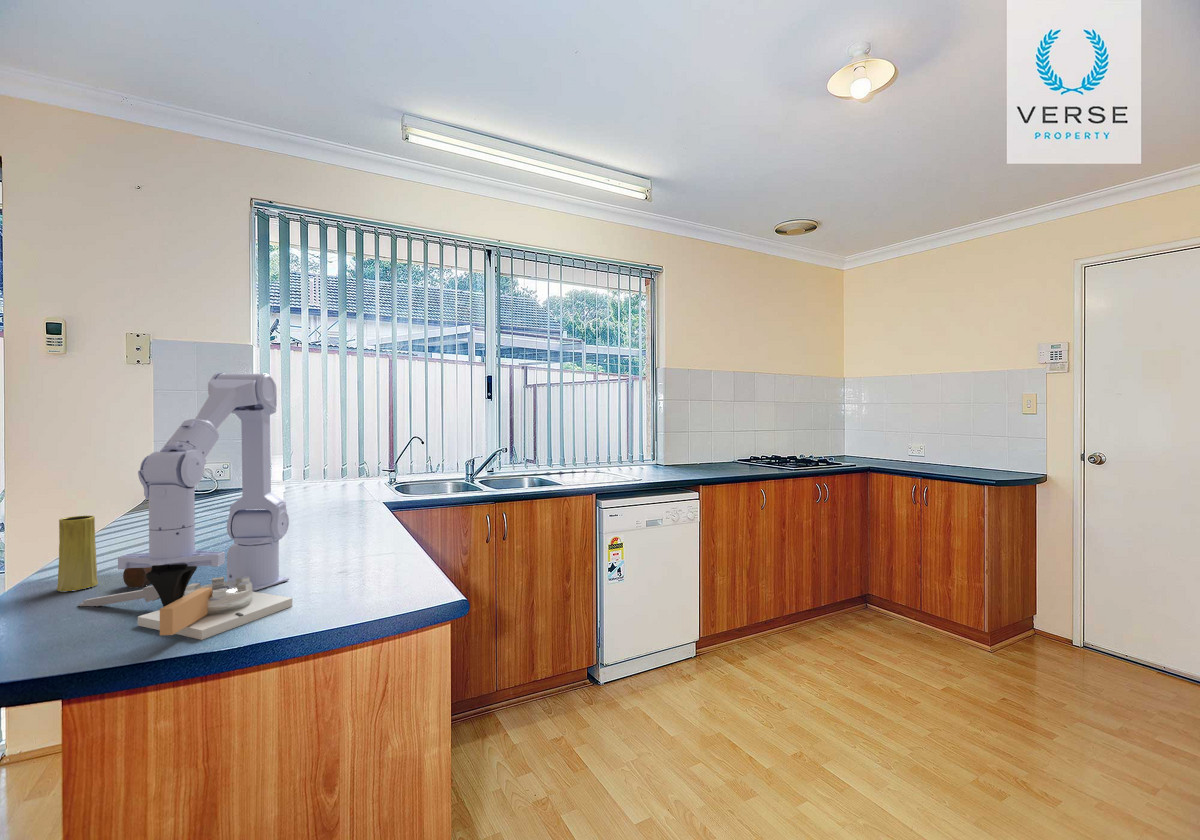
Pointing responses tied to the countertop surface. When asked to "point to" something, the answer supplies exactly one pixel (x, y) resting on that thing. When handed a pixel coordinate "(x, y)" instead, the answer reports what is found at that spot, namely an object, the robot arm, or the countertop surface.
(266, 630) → the countertop surface
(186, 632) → the cap plate
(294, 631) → the countertop surface
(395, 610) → the countertop surface
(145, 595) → the caliper
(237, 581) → the ring clamp with plank
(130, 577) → the bolt
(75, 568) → the vase
